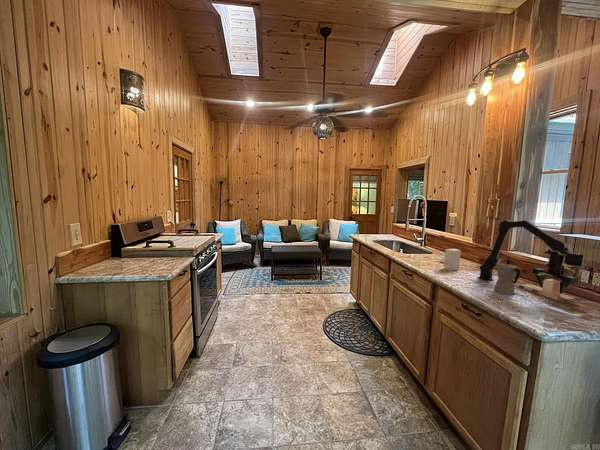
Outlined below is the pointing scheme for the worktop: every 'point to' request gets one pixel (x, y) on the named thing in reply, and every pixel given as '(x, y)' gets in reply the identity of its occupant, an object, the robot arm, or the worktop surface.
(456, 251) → the skincare box
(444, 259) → the napkin holder
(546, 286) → the carton
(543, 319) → the worktop surface
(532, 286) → the shelf board
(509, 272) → the coffeepot
